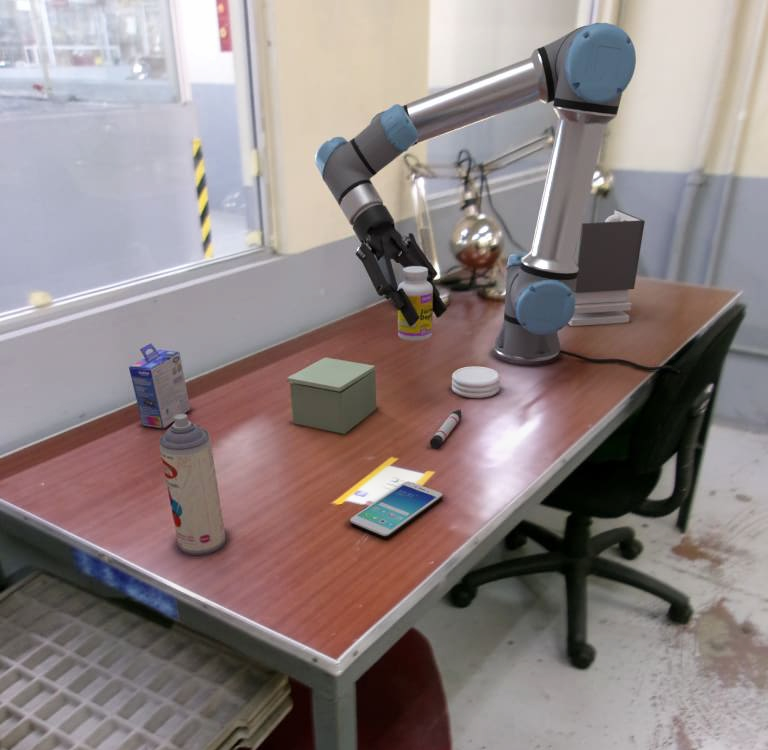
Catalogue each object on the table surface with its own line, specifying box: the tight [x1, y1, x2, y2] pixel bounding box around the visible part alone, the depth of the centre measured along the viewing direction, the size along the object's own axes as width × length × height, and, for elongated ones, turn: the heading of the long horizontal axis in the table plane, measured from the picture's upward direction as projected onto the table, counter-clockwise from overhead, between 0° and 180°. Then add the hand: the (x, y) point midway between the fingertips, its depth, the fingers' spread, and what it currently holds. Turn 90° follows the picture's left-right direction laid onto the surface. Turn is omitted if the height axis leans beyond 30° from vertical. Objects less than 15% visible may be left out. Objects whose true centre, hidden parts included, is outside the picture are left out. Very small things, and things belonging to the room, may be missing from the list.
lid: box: [286, 356, 376, 392], centre depth 142 cm, size 14×11×1 cm
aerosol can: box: [159, 413, 227, 556], centre depth 104 cm, size 7×7×20 cm
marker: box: [429, 409, 462, 449], centre depth 139 cm, size 15×2×2 cm, turn 158°
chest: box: [289, 369, 377, 435], centre depth 144 cm, size 13×11×8 cm
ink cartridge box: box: [128, 343, 191, 429], centre depth 144 cm, size 10×6×14 cm, turn 161°
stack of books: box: [567, 209, 645, 327], centre depth 193 cm, size 16×19×25 cm
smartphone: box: [349, 480, 443, 540], centre depth 115 cm, size 8×1×15 cm
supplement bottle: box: [397, 266, 434, 342], centre depth 142 cm, size 7×7×13 cm
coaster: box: [451, 365, 501, 399], centre depth 156 cm, size 10×10×4 cm
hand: (428, 317), depth 140 cm, fingers closed on supplement bottle, 7 cm apart
